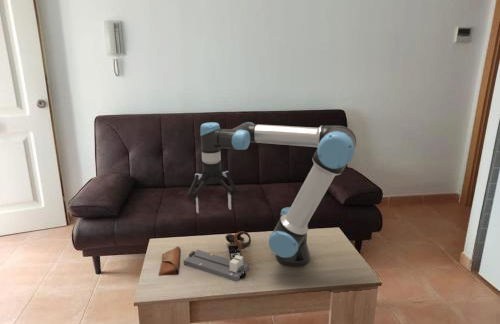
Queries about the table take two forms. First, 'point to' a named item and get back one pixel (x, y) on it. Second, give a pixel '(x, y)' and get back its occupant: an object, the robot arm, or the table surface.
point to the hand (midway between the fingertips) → (213, 210)
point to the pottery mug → (236, 237)
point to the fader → (236, 263)
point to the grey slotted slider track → (214, 264)
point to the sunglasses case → (170, 262)
